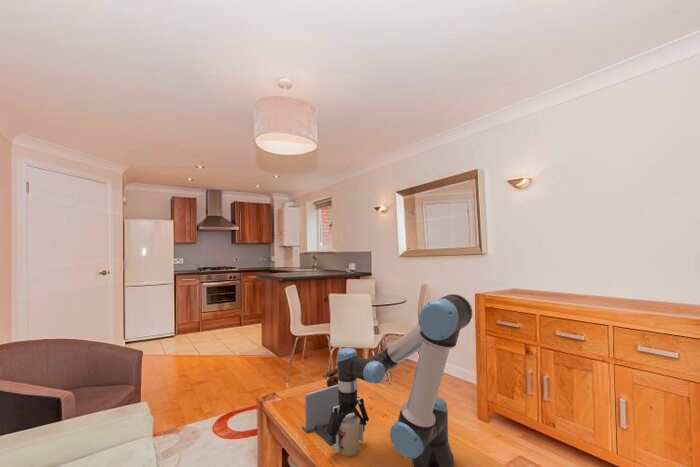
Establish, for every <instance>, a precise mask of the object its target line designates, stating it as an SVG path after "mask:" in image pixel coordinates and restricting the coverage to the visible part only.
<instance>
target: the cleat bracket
mask: <svg viewBox="0 0 700 467" xmlns="http://www.w3.org/2000/svg"><path fill="white" fill-rule="evenodd" d="M327 428H328V425H325V426H323V427H320V426H318V425H315V433H317V435H318V436H319V437H320V438H322V439H323V440H324V441H325V442H326V443H327V444H328V445H329V446H333V443H332V441H331V436H330V435H329V434H328V433H327ZM337 434H338V432H337Z"/></svg>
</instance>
